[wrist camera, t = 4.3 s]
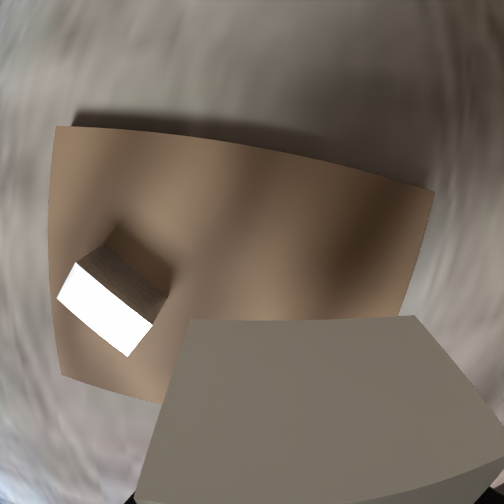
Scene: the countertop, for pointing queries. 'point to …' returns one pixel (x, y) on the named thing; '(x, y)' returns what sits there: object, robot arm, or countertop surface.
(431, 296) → the countertop surface
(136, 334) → the white wooden block
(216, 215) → the base board
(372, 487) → the white slotted box
